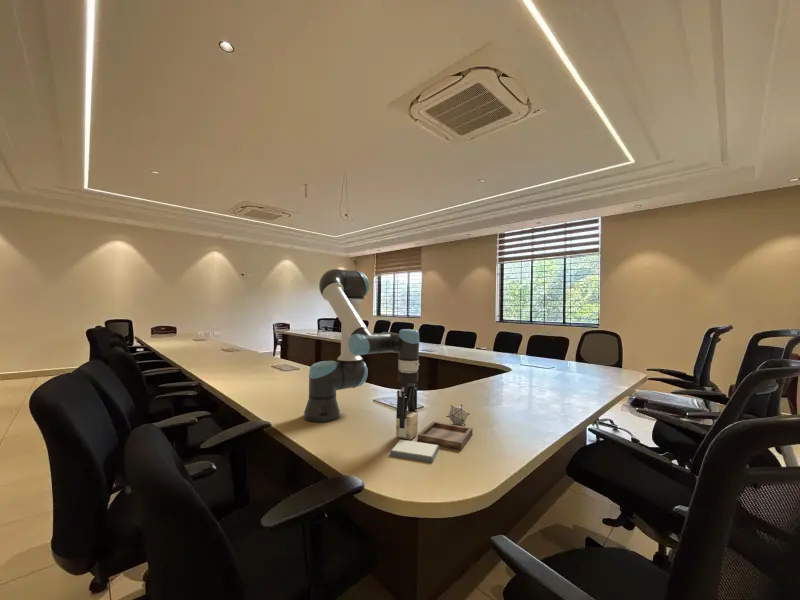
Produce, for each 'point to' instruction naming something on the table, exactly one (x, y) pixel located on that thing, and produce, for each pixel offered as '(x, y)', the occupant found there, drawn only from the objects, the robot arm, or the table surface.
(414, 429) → the beech block
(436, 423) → the walnut tray
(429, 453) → the white grey flat slab
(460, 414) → the game die
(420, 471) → the table surface
